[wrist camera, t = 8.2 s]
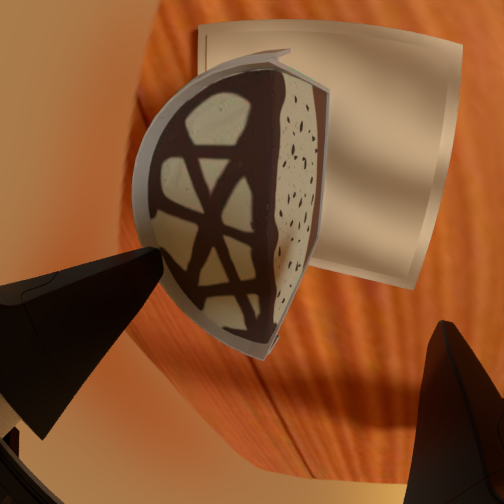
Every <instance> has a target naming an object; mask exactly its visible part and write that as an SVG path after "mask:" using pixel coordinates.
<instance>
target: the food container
mask: <svg viewBox="0 0 504 504" xmlns="http://www.w3.org/2000/svg"><path fill="white" fill-rule="evenodd" d="M289 53H291V48H288V49H277V50H267V51H261V52H257V53H254V54H250V55H246V56H243V57H239V58H236V59H233V60H230V61H227V62H224V63H221V64H219V65H217V66H215V67H213V68H211V69H209V70H207V71H205V72H203V73H201V74H199V75H198V76H196V77H195V78H194V79H192V80H191V81H190V82H188V83H187V84H186V85H185V86H183V87H182V88H181V89H180V90H178V91H177V92H176V93H175V95H174V96H173V97H172V98H171V99H170V100H169V101H168V102H167V103H166V104H165V106H164V107H163V108H162V109H161V110H160V111H159V113H158V114H157V115H156V116H155V118H154V119H153V121H152V123H151V124H150V126H149V128H148V130H147V131H146V133H145V135H144V137H143V140H142V142H141V145H140V148H139V151H138V153H137V156H136V160H135V166H134V171H133V177H132V208H133V217H134V222H135V227H136V231H137V235H138V239H139V242H140V244H141V247H142V248H144V247H148V246H152V247H155V248H159V249H160V250H161V252H162V259H163V266H164V273H163V276H162V278H161V279H160V281H159V283H160V284H161V285H162V287H163V288H164V290H165V291H166V293H167V294H168V295H169V296H170V298H171V299H172V300H173V301H174V302H175V304H176V305H177V306H178V307H179V308H180V309H181V310H182V311H183V312H184V313H185V314H186V315H187V316H188V317H189V318H190V319H191V320H192V321H193V322H194V323H195V324H197V325H198V326H199V327H201V328H202V329H203V330H204V331H206V332H207V333H208V334H210V335H211V336H213V337H214V338H216V339H217V340H219V341H221V342H222V343H224V344H225V345H227V346H229V347H231V348H233V349H235V350H237V351H239V352H241V353H244V354H246V355H248V356H251V357H254V358H256V359H259V360H262V361H264V360H265V358H266V356H267V354H268V355H269V354H270V352H271V350H272V349H273V347H274V345H275V344H276V342H277V340H278V339H279V335H277V333H278V331H279V329H280V327H281V324H282V322H283V320H284V318H285V316H286V313H287V311H288V309H289V307H290V305H291V302H292V300H293V298H294V296H295V293H296V291H297V289H298V287H299V284H300V282H301V280H302V277H303V275H304V273H305V271H306V268H307V266H308V264H309V261H310V259H311V256H312V254H313V252H314V249H315V247H316V245H317V242H318V240H319V237H320V228H321V218H322V208H323V197H324V186H325V173H326V159H327V144H328V127H329V106H330V89H328V88H326V87H325V86H323V85H321V84H320V83H318V82H316V81H314V80H313V79H311V78H309V77H307V76H305V75H304V74H302V73H300V72H298V71H296V70H294V69H293V68H291V67H289V66H287V65H285V64H283V63H281V62H279V57H281V56H284V55H286V54H289Z"/></svg>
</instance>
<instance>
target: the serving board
mask: <svg viewBox="0 0 504 504" xmlns="http://www.w3.org/2000/svg"><path fill="white" fill-rule="evenodd" d="M288 48H291V53H289V54H286V55H284V56H281V57H279V62H281V63H283V64H285V65H287V66H289V67H291V68H293V69H294V70H296V71H298V72H300V73H302V74H304V75H305V76H307V77H309V78H311V79H313V80H314V81H316V82H318V83H320V84H321V85H323V86H325V87H326V88H328V89H330V106H329V127H328V144H327V159H326V173H325V186H324V197H323V208H322V218H321V228H320V237H319V240H318V242H317V245H316V247H315V249H314V252H313V254H312V256H311V259H310V261H309V264H308V265H310V266H314V267H318V268H323V269H327V270H331V271H335V272H339V273H343V274H348V275H352V276H356V277H360V278H364V279H369V280H373V281H377V282H381V283H385V284H389V285H394V286H398V287H402V288H406V289H410V290H414V288H415V285H416V282H417V279H418V276H419V273H420V270H421V267H422V264H423V261H424V258H425V255H426V252H427V249H428V246H429V242H430V239H431V236H432V232H433V229H434V225H435V221H436V218H437V214H438V210H439V206H440V202H441V198H442V194H443V190H444V186H445V181H446V176H447V172H448V167H449V162H450V157H451V151H452V146H453V140H454V133H455V127H456V120H457V112H458V104H459V95H460V84H461V71H462V52H463V45H461V44H458V43H455V42H451V41H447V40H444V39H440V38H436V37H432V36H428V35H423V34H419V33H414V32H409V31H404V30H399V29H393V28H387V27H381V26H374V25H367V24H359V23H350V22H339V21H325V20H302V19H269V20H246V21H232V22H221V23H212V24H203V25H198V75H199V74H201V73H203V72H205V71H207V70H209V69H211V68H213V67H215V66H217V65H219V64H221V63H224V62H227V61H230V60H233V59H236V58H239V57H243V56H246V55H250V54H254V53H257V52H261V51H267V50H277V49H288Z"/></svg>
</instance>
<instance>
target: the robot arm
mask: <svg viewBox="0 0 504 504" xmlns="http://www.w3.org/2000/svg"><path fill="white" fill-rule="evenodd" d="M163 273H164V266H163V259H162V252H161V250H160V249H159V248H155V247H152V246H148V247H144V248H140V249H137V250H133V251H129V252H125V253H122V254H118V255H115V256H111V257H107V258H103V259H100V260H96V261H93V262H89V263H85V264H81V265H78V266H74V267H71V268H68V269H64V270H61V271H60V272H59V271H57V272H53V273H50V274H46V275H42V276H39V277H35V278H31V279H27V280H23V281H18V282H14V283H10V284H6V285H2V286H0V504H64V503H63V502H62V501H61V500H60V499H59V498H58V497H57V496H55V495H54V494H53V493H52V492H51V491H50V490H49V489H48V488H47V487H46V486H45V485H44V484H43V483H42V482H41V481H40V480H39V479H38V478H37V477H36V476H35V475H34V474H33V473H32V472H31V471H30V470H29V469H28V468H27V467H26V466H25V465H24V464H23V462H22V461H21V460H20V459H19V430H18V429H17V428H16V427H15V425H16V424H17V423H18V422H19V421H20V420H21V419H22V420H23V422H24V423H25V424H26V425H27V426H28V427H29V428H30V429H31V430H32V431H33V432H34V433H35V434H36V435H37V436H38V437H39V438H40V439H41V440H43V439H44V438H45V437H46V436H47V434H48V433H49V432H50V430H51V429H52V427H53V426H54V424H55V423H56V421H57V420H58V419H59V417H60V416H61V414H62V413H63V412H64V410H65V409H66V407H67V406H68V404H69V403H70V402H71V400H72V399H73V398H74V396H75V395H76V393H77V392H78V390H79V389H80V388H81V386H82V385H83V384H84V382H85V381H86V380H87V378H88V377H89V375H90V374H91V373H92V372H93V370H94V369H95V367H96V366H97V365H98V363H99V362H100V361H101V359H102V358H103V357H104V356H105V354H106V353H107V352H108V350H109V349H110V348H111V346H112V345H113V344H114V342H115V341H116V340H117V339H118V337H119V336H120V335H121V334H122V332H123V331H124V330H125V328H126V327H127V326H128V325H129V323H130V322H131V321H132V320H133V318H134V317H135V316H136V315H137V313H138V312H139V311H140V309H141V308H142V306H143V305H144V304H145V302H146V300H147V299H148V297H149V296H150V294H151V293H152V291H153V290H154V288H155V287H156V285H157V284H158V282H159V281H160V279H161V278H162V276H163ZM403 504H504V400H503V399H502V397H501V395H500V394H499V392H498V390H497V389H496V387H495V385H494V384H493V382H492V380H491V379H490V377H489V376H488V374H487V372H486V371H485V369H484V368H483V366H482V365H481V363H480V361H479V360H478V358H477V357H476V355H475V354H474V352H473V351H472V349H471V348H470V346H469V345H468V343H467V342H466V340H465V339H464V338H463V336H462V335H461V333H460V332H459V330H458V329H457V328H456V326H455V325H454V324H453V323H452V322H449V321H444V320H441V321H439V322H438V324H437V326H436V328H435V330H434V332H433V334H432V337H431V339H430V341H429V343H428V347H427V353H426V360H425V367H424V373H423V379H422V384H421V390H420V398H419V408H418V418H417V427H416V435H415V443H414V450H413V456H412V462H411V468H410V473H409V479H408V484H407V489H406V493H405V498H404V502H403Z"/></svg>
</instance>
